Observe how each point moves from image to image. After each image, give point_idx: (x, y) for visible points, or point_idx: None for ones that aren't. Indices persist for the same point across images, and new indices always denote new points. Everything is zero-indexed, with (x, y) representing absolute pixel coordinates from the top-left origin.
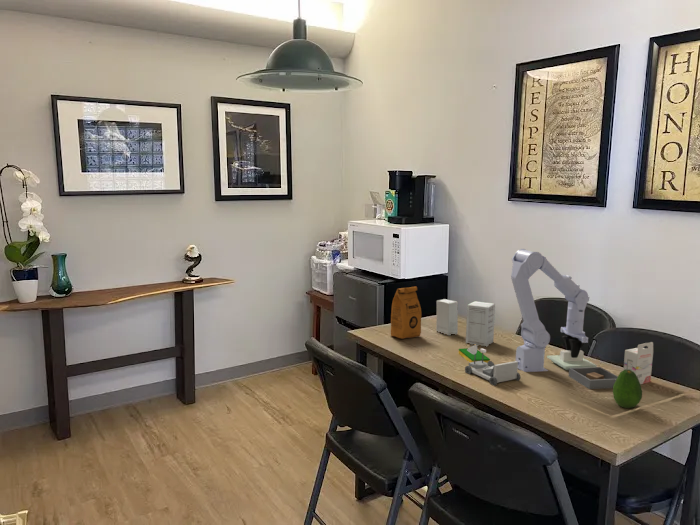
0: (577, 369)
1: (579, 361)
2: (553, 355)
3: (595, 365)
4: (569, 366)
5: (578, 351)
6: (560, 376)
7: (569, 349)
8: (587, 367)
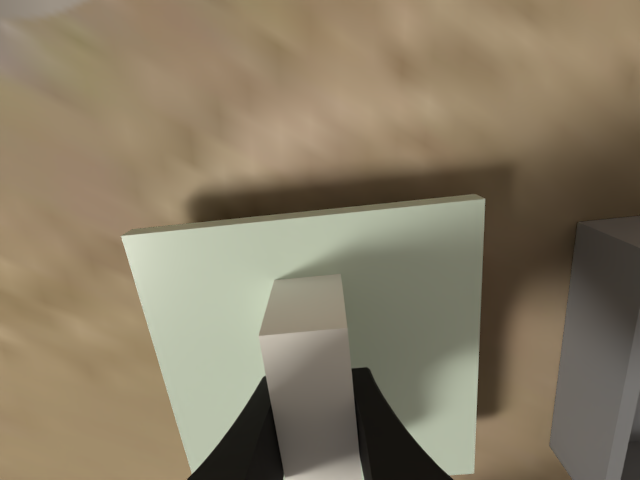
0: (615, 456)
1: (357, 314)
2: (188, 451)
3: (483, 211)
4: (474, 444)
5: (386, 419)
6: (513, 476)
7: (276, 462)
8: (628, 382)
